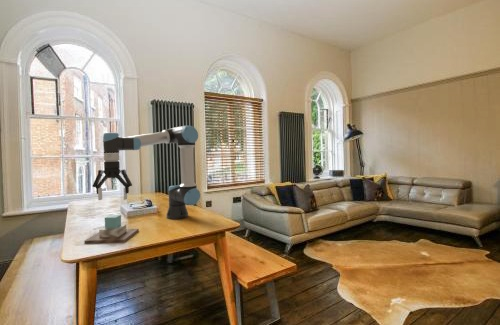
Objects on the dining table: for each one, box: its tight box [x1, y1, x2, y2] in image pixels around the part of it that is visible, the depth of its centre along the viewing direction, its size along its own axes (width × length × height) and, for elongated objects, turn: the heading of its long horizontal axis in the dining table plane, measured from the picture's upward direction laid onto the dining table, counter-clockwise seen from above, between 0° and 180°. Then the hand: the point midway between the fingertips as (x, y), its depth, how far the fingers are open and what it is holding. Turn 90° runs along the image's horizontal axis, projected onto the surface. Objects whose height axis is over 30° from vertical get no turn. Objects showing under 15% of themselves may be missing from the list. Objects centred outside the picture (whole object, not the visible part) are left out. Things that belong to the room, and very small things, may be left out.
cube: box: [104, 214, 122, 229], centre depth 146 cm, size 6×6×6 cm
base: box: [83, 224, 140, 245], centre depth 146 cm, size 20×20×6 cm
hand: (113, 199), depth 146 cm, fingers open, 13 cm apart
